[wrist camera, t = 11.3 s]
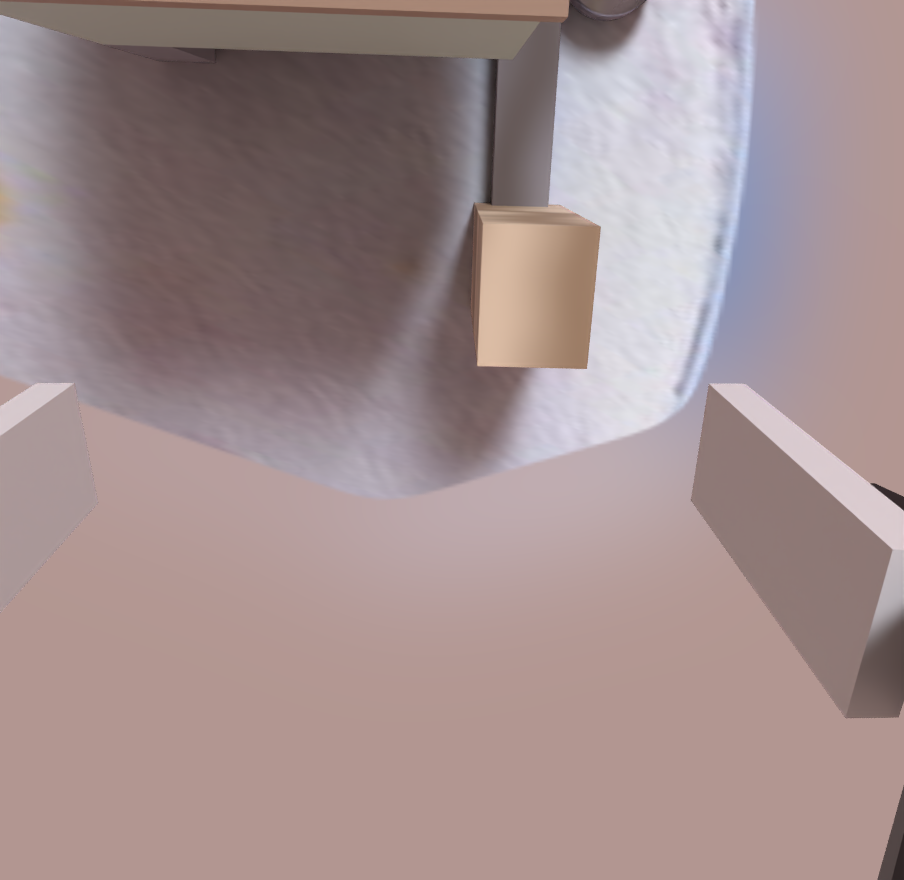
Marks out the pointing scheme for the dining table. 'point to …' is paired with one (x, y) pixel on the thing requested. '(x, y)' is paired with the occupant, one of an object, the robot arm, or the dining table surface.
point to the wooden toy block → (530, 229)
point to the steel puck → (606, 8)
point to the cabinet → (296, 25)
